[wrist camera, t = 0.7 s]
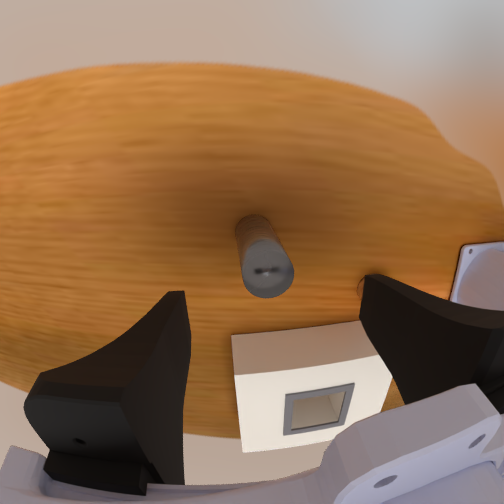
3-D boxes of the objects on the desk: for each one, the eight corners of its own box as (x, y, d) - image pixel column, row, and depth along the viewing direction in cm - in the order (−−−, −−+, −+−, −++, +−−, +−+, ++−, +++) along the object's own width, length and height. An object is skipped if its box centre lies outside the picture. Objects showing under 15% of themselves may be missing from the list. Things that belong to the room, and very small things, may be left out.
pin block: (376, 317, 24) (401, 351, 20) (357, 397, 28) (373, 431, 24) (231, 335, 23) (234, 377, 19) (239, 415, 27) (243, 454, 23)
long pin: (271, 213, 20) (294, 249, 14) (272, 248, 21) (293, 296, 15) (234, 215, 20) (241, 253, 14) (236, 250, 21) (244, 300, 15)
